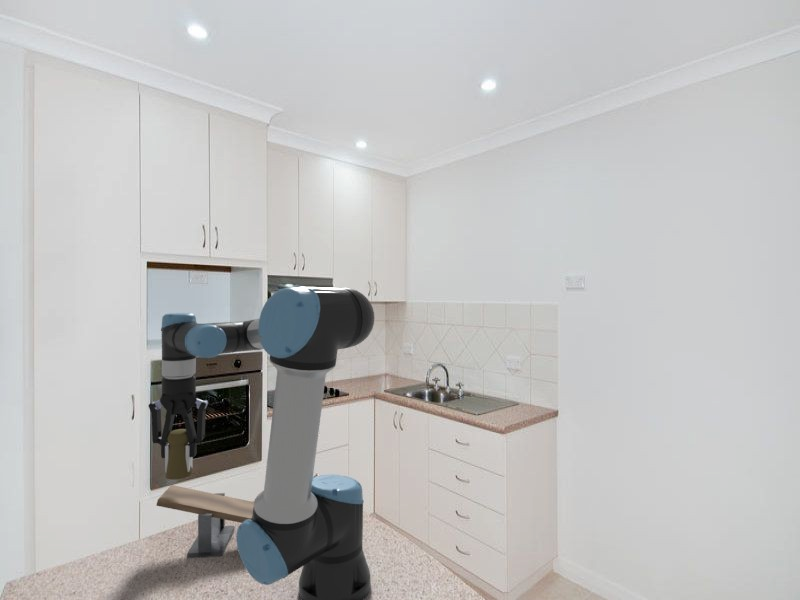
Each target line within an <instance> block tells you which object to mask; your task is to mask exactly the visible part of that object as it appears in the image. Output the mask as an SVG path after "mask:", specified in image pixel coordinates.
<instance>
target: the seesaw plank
mask: <svg viewBox="0 0 800 600" xmlns="http://www.w3.org/2000/svg"><path fill="white" fill-rule="evenodd" d="M155 506H157V507H161V508H166V509H170V510H171V509H172V510H177V511H182V512H186V513H191V514H196V515H199V514H212V517H215V518H220V519H225V520H226V521H230V522H235V523H240V524H242V523H243V522H244V521H245V520H246V519H251V518H252V515H253V507H254V501H250V500H245V499H241V498H236V497H232V496H231V497H230V496H222V495H217V494H216V493H211V492H207V491H203V490H202V491H201V490H198V489H197V490H196V489H192V488H190V487H189V488H187V487H184V486H183V487H182V486H178V485H173V484H170V486H169V487H167V489H166V490H165V491H164V492H163V493H162V494H161V495H160V496H159V497H158V499H157V501H156V505H155Z"/></svg>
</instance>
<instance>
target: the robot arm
mask: <svg viewBox="0 0 800 600" xmlns="http://www.w3.org/2000/svg"><path fill="white" fill-rule="evenodd" d="M374 324H375V311H374V308H373V305H372V303H371V301H370V300H369V298H368V297H366V295H364V294H363V293H362V292H360V291H358V290H356V289H353V288H349V287H324V286H323V287H321V286H319V287H317V286H303V285H302V286H301V285H300V286H296V287H286V288H285V287H284V288H281V289H279V290H276V291H275V292H274V293H273V294H272V295H271V296H269V298H267V300H266V301H265V303H264V305H263V306H262V309H261V311H260V315H259V318H256V319H249V320H244V321H233V322H232V321H228V322H227V321H225V322H210V323H209V322H208V323H197V318H196V315H195V314H194V313H191V312H187V313H185V312H175V313H174V312H173V313H171V312H170V313H165V314H164V315H163V316H162V319H161V328H160V331H161V376H162V378H161V397H160V398H159V399H158V400H153V401H152V402H150V403H149V404H148V409H149V411H150V414H151V416H150V417H151V435H152V438H151V439H152V444H158V445H160V456H161V459H164V473H165V474H166V471H167V464H168V457H169V447H170V445H169V443H168V441H167V437H168V434H169V433H170V432H171V431H173V430H172V429H173V426H174V421H175V416H176V415H181V417H182V419H183V423H184V427H185V428H184V429H186V432H187V437H188V441H189V442H188V444H187V445H186V464H187V470H188V472H189V471H190V466H191V467H192V469H193V461H194V460H193V459H194V457H195V456H196V455H197V453H198V452H197V444H198V443H201V442H202V441H203V440H204V439H205V437H206V416H207V415H206V412H207V411H206V410H207V408H208V405H209V403H210V402H209V400H207V399H205V400H202V399H200V398H199V397H198V395H197V392H196V391H197V387H196V386H197V376H196V375H195V374H196V372H197V371H196V370H197V368H196V367H197V366H196V365H197V362H196V361H197V358H200V359H204V358H205V359H207V358H208V359H212V358H215V357H217V356H220V355H222V354H223V355H224V354H231V353H237V352H239V353H240V352H249V351H250V352H251V351H260V350H264V351H265V352H266V353H267V354H268V355H269V362H270V363H271V364H272V366H273V367H274V368H275V369H276V377H275V378H276V381H275V386H274V387H275V388H274V398H273V405H272V415H271V425H270V433H269V442H268V451H267V459H266V471H265V479H264V485H263V486H264V487H263V488H264V489H263V490H262V491H260V493H259V494H257V496H256V497H255V499H254V501H253V502H254V507H253V515H252V518H251V519H246V520H245V521H244V522H243V523H240V524H239V525H238V526H237V531H236V538H235V539H236V545H237V547H236V548H237V550H238V553H239V557H240V560H241V562H242V564H243V566H244V568H245V569H246V572H247V573H248V574H249V575H250V576H251V578H252V579H254V580H255V581H256V582H258V583H259V584H261V585H267V586H268V585H273V584H275V583H276V582H278V581H281V580H283V579H285V578H287V577H288V576H289V575H291V574H292V573H295V571H297V570H299V569H300V568H301V569H302V570H301V573H300V576H299V579H298V595H299V598H300V600H363V599H364V600H365V599H366V598H367V596H368V595H369V593H370V591H371V571H370V568H369V566H368V562H367V559H366V556H365V553H364V550H363V540H364V539H363V533H364V532H363V531H364V528H363V527H364V526H363V525H364V521H363V520H364V499H363V497H364V495H363V488H362V485H361V483H360V482H359V481H358V480H357V479H355V478H353V477H349V476H346V475H341V474H322V475H317V476H314V472H315V463H316V455H317V447H318V439H319V431H320V424H321V415H322V408H323V407H322V406H323V401H324V391H325V385H326V384H325V383H326V378H327V373H329V372H331V371H332V370H333V369H335V367H336V366H337V365H336V362H337V357H338V351H339V350H342V349H349V348H353V347H355V346H357V345H359V344H361V343H362V342H365V340H366V339H367V338H368V337H369V335H370V334H371V332H372V330H373V328H374V326H375V325H374ZM195 405H196V409H197V415H196V416H197V418H196V419H197V420H196V426H195V422H194V419H193V410H192V408H193V407H194V406H195ZM162 406H163V408H164V409H165V410H166V412H165V421H164V424H163V430H162V413H161V412H162V410H161V408H162ZM195 427H196V428H195ZM369 590H370V591H369Z"/></svg>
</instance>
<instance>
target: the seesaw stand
mask: <svg viewBox="0 0 800 600" xmlns="http://www.w3.org/2000/svg"><path fill="white" fill-rule="evenodd" d="M215 494H217V495H222V496H225V495H226V493H225V492H221V493H220V492H219V493H215ZM197 515H198V516H197V528H198V529H197V534H198V535H197V536H196V538H195V540H194V542H193V543H192V544H191V546H190V548H189V549H188V550H187V553H186V559H195V558H196V559H198V558H213V557H223V556H224V554H225V551H226V550H227V547H228V545H229V543H230V540H231V538H232V536H233V535H234V532H235V531H236V529H235V526H236V525H226V521H225V519H220V518H215V517H212V514H197Z"/></svg>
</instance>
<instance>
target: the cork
mask: <svg viewBox="0 0 800 600" xmlns="http://www.w3.org/2000/svg"><path fill="white" fill-rule="evenodd" d="M167 441H168V443H169V445H170V447H169V457H168V464H167V471H166V473H165V479H166V480H176V481H177V480H180V479H181V480H182V479H185V478H187V477H190V476H192V475H193V472H194V471H193V468H192V467H191V466H190V471H189V472H188V470H187V464H186V445H187V444H188V443H189V441H188V437H187V432H186V428H178V429H173V430H172V431H171V432H170V433H169V434H168V437H167Z"/></svg>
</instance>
